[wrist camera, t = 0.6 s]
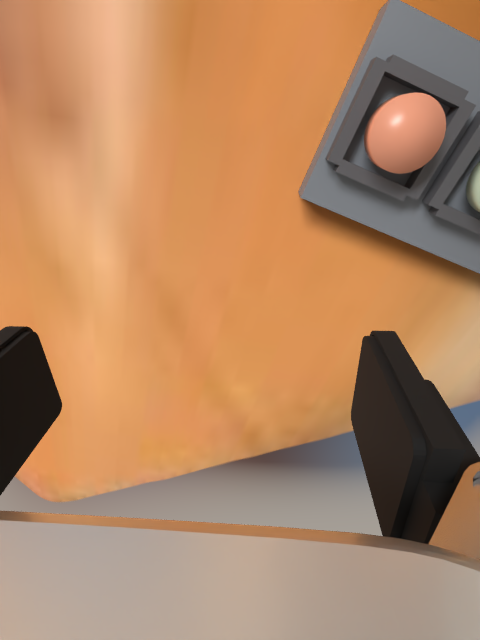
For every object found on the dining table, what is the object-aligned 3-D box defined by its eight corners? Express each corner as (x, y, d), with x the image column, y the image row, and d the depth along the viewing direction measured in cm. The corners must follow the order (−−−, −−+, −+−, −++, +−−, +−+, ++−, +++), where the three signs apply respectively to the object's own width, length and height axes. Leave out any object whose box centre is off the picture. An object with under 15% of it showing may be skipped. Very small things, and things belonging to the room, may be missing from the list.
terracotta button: (387, 82, 25) (396, 79, 23) (449, 111, 26) (462, 110, 24) (351, 155, 27) (356, 157, 26) (408, 180, 28) (417, 184, 26)
